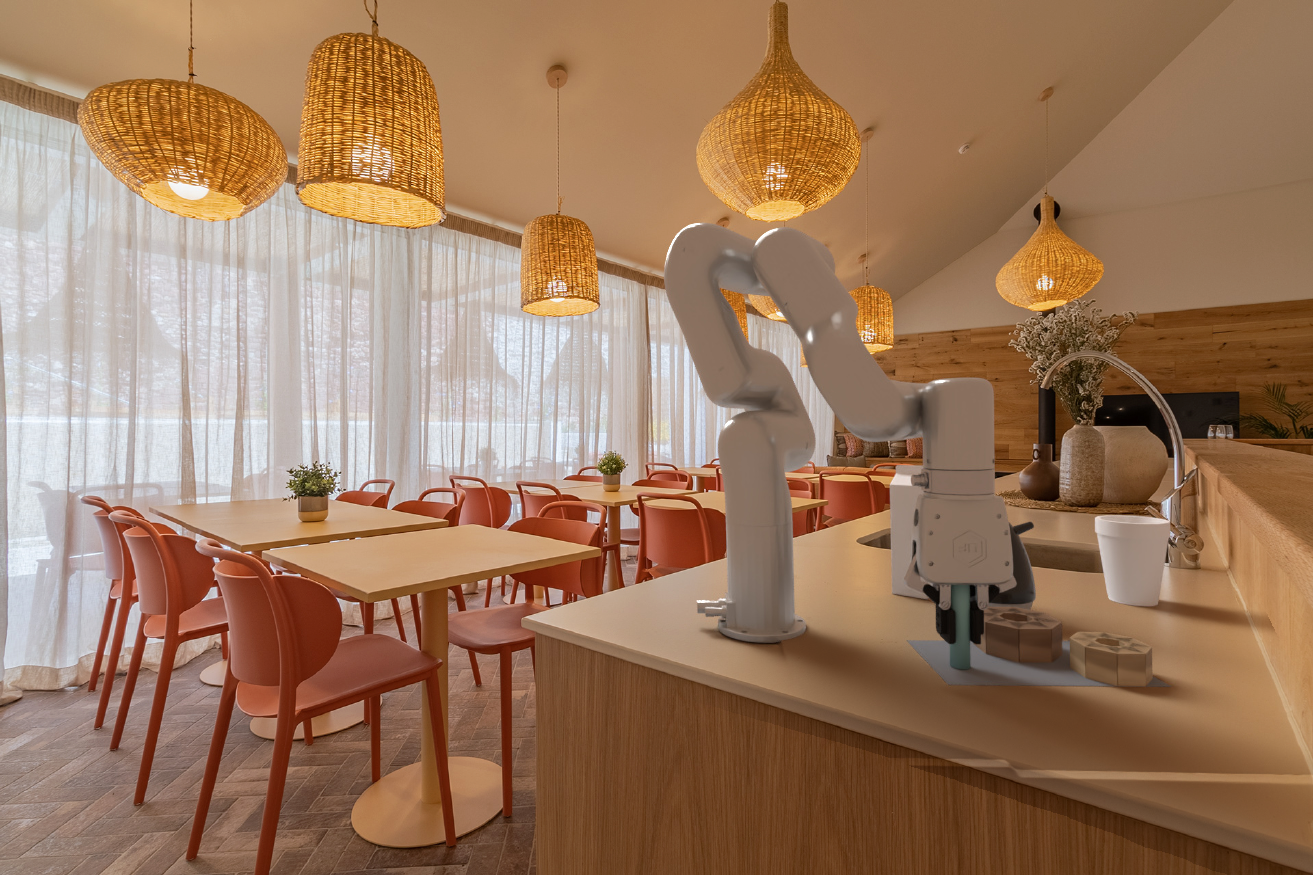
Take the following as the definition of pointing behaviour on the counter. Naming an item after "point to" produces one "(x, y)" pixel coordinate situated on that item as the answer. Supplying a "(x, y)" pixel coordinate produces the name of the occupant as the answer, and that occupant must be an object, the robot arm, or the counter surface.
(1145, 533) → the foam cup
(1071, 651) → the oak bead
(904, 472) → the milk
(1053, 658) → the bead
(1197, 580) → the counter surface
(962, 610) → the teal rounded rod
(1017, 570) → the pump dispenser
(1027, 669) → the mat
